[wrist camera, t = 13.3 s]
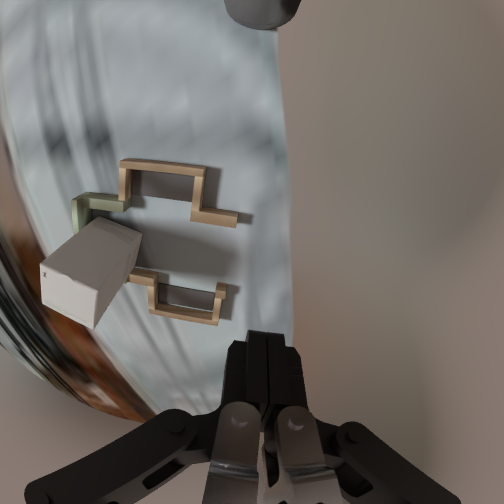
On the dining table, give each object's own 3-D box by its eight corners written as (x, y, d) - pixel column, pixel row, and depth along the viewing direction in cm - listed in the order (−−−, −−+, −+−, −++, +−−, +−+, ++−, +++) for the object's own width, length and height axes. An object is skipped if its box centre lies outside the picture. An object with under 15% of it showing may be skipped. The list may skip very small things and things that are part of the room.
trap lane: (86, 156, 33) (70, 161, 30) (245, 172, 35) (243, 178, 31) (95, 292, 44) (85, 305, 40) (222, 318, 45) (219, 334, 42)
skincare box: (93, 248, 40) (39, 303, 26) (99, 212, 37) (36, 260, 23) (137, 267, 41) (93, 333, 27) (146, 231, 38) (96, 292, 24)
